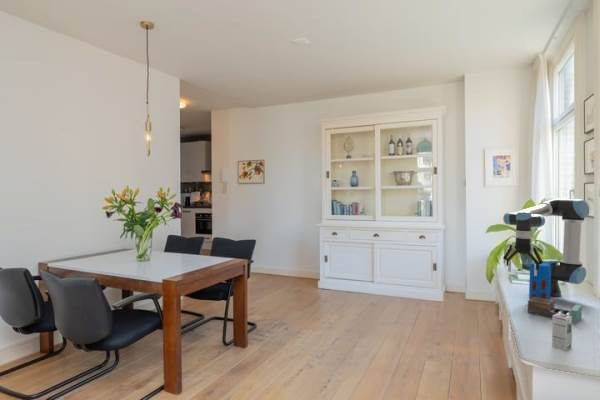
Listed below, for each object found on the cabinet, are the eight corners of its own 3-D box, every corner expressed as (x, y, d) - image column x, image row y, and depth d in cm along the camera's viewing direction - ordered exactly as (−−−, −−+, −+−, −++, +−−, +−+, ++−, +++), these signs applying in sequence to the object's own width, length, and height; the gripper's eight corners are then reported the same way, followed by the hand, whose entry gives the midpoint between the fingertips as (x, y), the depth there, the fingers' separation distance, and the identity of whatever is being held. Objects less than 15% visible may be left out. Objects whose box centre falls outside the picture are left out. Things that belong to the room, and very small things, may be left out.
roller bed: (533, 308, 217) (533, 303, 217) (575, 317, 203) (575, 311, 203) (528, 312, 210) (528, 307, 210) (570, 322, 195) (570, 316, 195)
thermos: (553, 307, 219) (554, 266, 218) (533, 306, 221) (534, 265, 220) (544, 302, 229) (546, 262, 229) (526, 301, 232) (527, 261, 231)
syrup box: (566, 351, 160) (567, 318, 160) (551, 346, 165) (552, 314, 164) (571, 348, 164) (572, 315, 163) (556, 343, 168) (557, 312, 168)
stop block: (575, 317, 203) (575, 304, 203) (581, 318, 202) (581, 305, 201) (570, 322, 195) (570, 309, 194) (576, 324, 193) (576, 310, 192)
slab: (534, 303, 218) (534, 296, 217) (554, 307, 210) (554, 300, 210) (527, 307, 209) (528, 300, 209) (548, 312, 202) (548, 304, 202)
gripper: (498, 236, 222) (497, 270, 223) (546, 240, 204) (545, 278, 205) (502, 235, 227) (501, 269, 228) (549, 239, 209) (548, 276, 210)
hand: (522, 273), depth 216 cm, fingers open, 13 cm apart
